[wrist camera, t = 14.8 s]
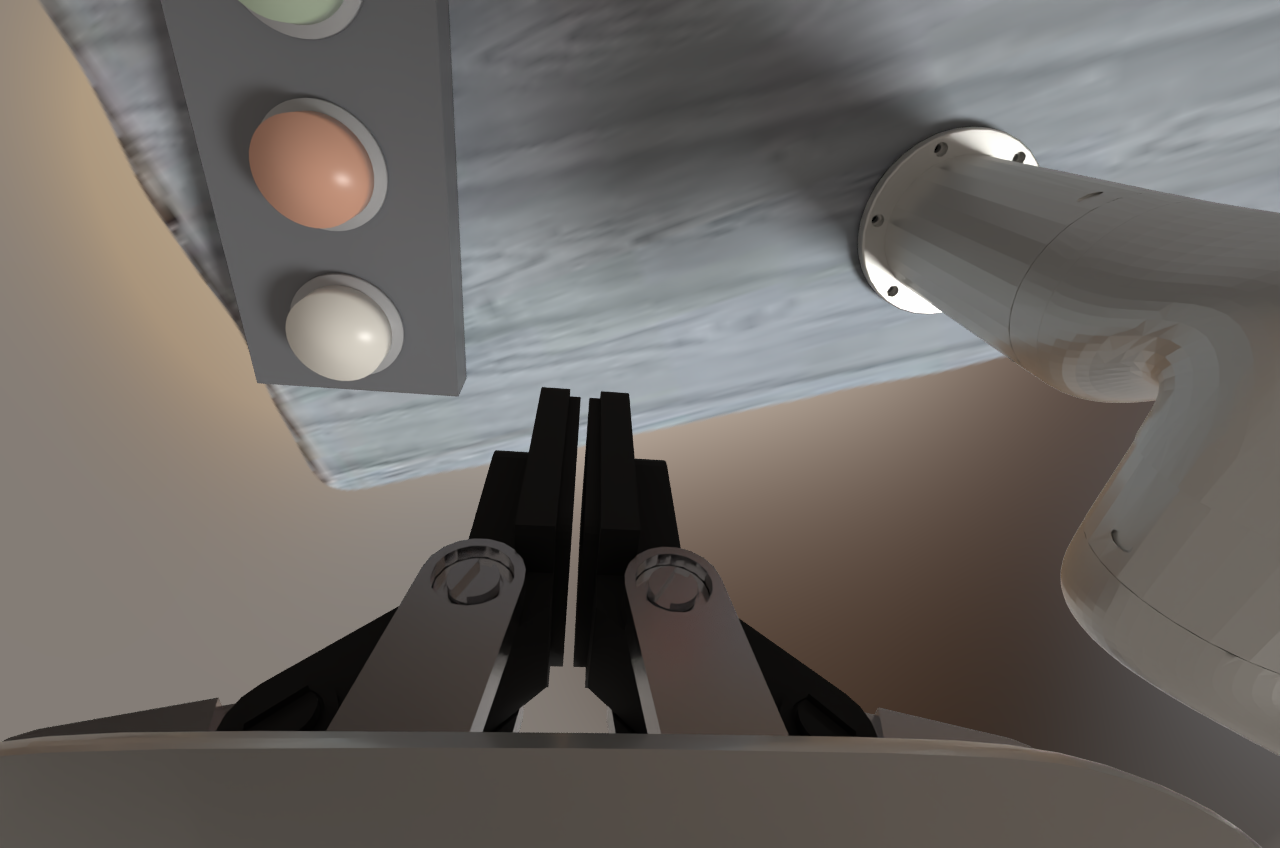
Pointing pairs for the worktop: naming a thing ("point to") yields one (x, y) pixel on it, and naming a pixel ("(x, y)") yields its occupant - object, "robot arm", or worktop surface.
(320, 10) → the button green
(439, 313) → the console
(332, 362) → the button white
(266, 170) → the button terracotta
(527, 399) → the worktop surface
